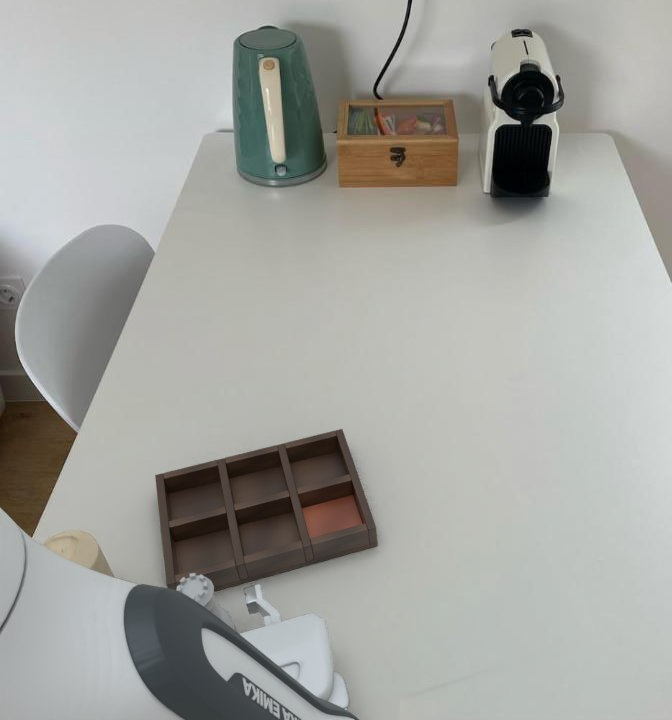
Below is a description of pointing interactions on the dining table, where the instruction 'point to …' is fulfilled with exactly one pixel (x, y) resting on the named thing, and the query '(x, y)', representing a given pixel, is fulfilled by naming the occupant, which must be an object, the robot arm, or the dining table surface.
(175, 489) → the grid
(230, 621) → the rook chess piece
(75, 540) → the candle
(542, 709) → the dining table surface
